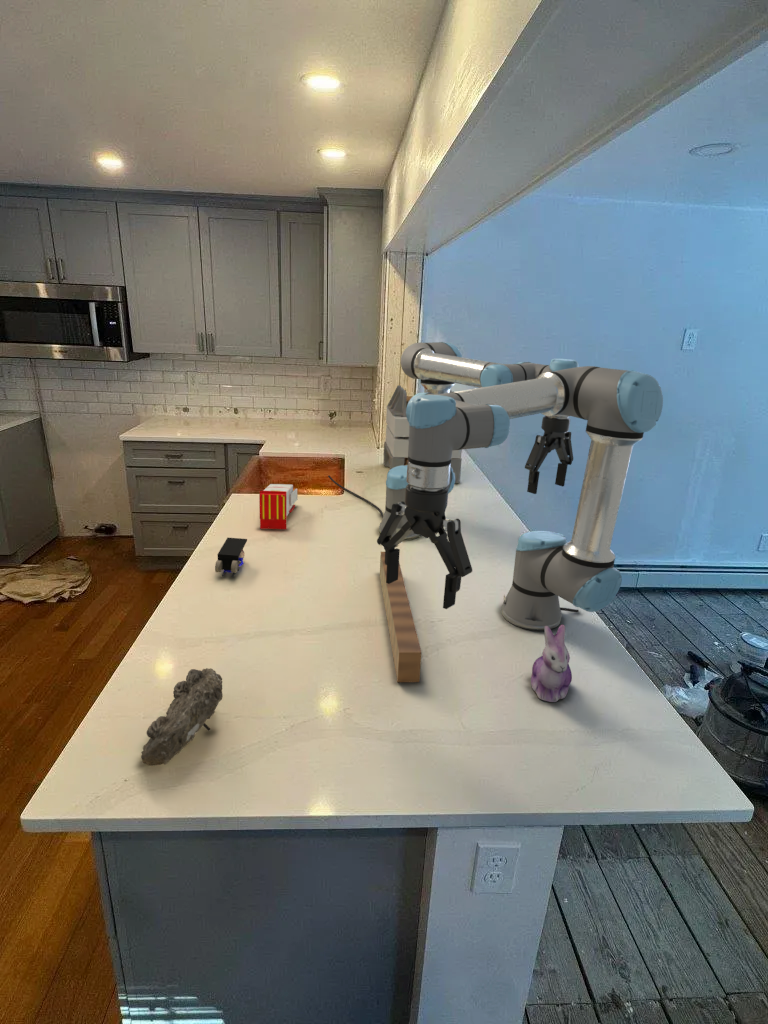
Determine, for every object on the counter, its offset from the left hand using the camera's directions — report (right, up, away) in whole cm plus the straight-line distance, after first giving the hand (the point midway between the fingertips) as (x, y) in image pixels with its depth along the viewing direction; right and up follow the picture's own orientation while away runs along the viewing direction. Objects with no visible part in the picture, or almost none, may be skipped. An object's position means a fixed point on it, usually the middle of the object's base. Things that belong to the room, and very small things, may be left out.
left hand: (545, 489), depth 165 cm
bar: (-44, -34, -21) cm, 60 cm away
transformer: (-30, +12, +109) cm, 114 cm away
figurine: (-12, -45, -45) cm, 65 cm away
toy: (-87, -8, +46) cm, 98 cm away
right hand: (-41, -22, -59) cm, 75 cm away
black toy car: (-92, -24, +2) cm, 95 cm away
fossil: (-83, -47, -60) cm, 113 cm away
